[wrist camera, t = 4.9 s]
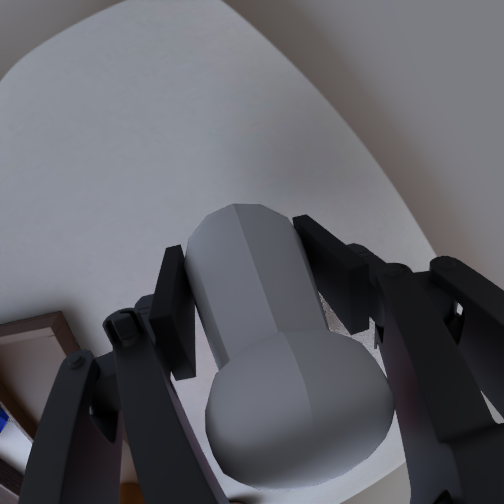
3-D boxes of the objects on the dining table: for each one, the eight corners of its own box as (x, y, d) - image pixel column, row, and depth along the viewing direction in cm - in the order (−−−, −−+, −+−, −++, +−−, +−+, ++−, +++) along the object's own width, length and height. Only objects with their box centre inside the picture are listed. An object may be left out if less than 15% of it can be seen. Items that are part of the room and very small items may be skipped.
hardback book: (100, 517, 36) (99, 537, 31) (56, 521, 37) (54, 537, 32) (-32, 431, 25) (-42, 452, 21) (-52, 447, 26) (-59, 464, 22)
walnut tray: (-31, 331, 21) (-42, 344, 19) (60, 310, 22) (50, 326, 20) (115, 503, 34) (114, 515, 32) (192, 500, 35) (193, 513, 33)
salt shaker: (309, 223, 17) (477, 381, 5) (260, 307, 19) (336, 510, 7) (214, 175, 16) (265, 312, 4) (168, 270, 17) (139, 499, 5)
